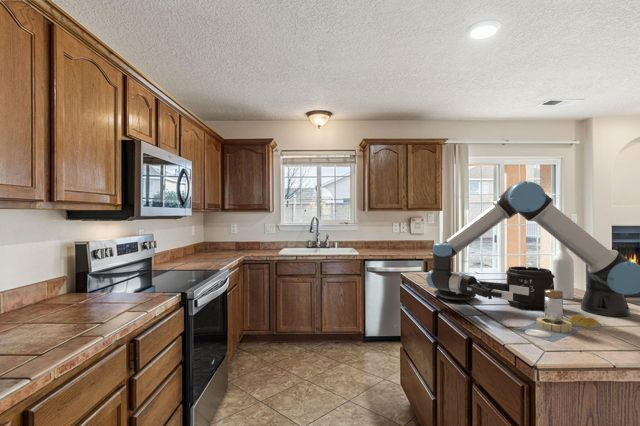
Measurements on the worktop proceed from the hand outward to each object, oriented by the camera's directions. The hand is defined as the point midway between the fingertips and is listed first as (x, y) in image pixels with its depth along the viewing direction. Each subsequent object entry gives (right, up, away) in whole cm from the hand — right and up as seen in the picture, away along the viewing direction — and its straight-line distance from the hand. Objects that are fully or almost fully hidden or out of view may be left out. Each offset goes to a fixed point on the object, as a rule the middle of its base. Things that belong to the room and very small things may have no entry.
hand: (520, 294), depth 123 cm
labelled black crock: (+18, -11, +26) cm, 33 cm away
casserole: (-8, -11, +41) cm, 43 cm away
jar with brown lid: (+6, -9, -8) cm, 14 cm away
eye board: (+2, -11, -11) cm, 15 cm away
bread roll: (+20, -11, -4) cm, 23 cm away
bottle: (+43, -11, +40) cm, 60 cm away
